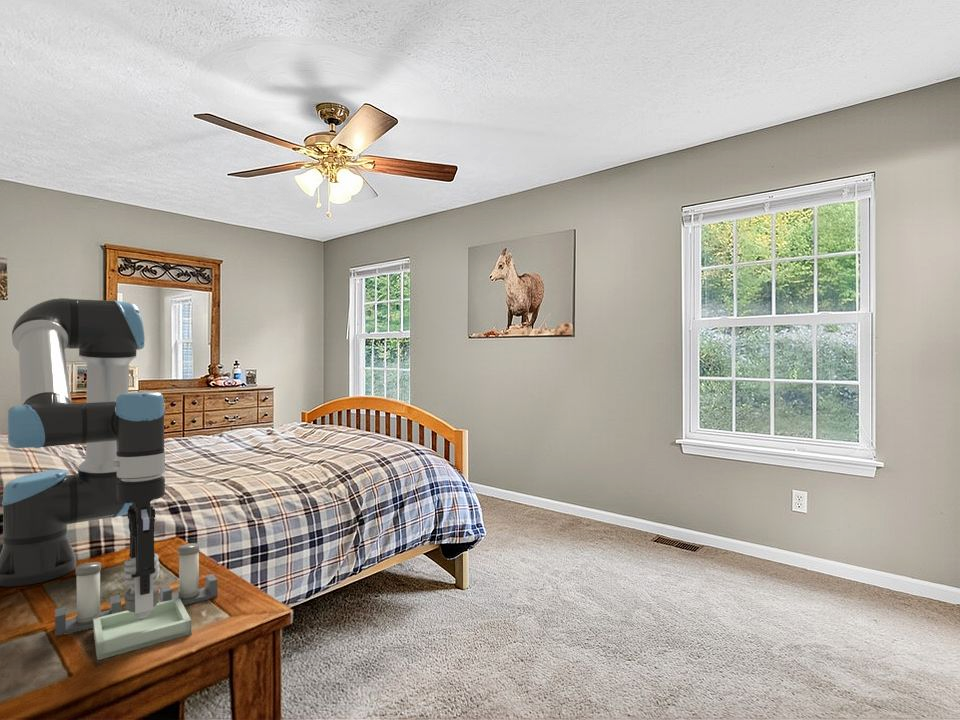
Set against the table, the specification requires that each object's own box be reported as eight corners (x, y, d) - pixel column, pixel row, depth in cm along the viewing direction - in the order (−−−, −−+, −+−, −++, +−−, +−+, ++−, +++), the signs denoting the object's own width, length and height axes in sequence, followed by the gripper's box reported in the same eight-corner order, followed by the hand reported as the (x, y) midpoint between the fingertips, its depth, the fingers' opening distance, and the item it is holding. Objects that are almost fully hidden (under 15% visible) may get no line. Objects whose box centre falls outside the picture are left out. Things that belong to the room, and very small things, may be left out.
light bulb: (143, 628, 97) (142, 560, 96) (116, 625, 98) (115, 558, 97) (167, 613, 102) (166, 549, 102) (141, 610, 103) (140, 546, 103)
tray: (93, 632, 100) (93, 618, 100) (179, 610, 109) (179, 597, 109) (97, 660, 91) (97, 645, 91) (191, 633, 99) (191, 620, 99)
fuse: (75, 618, 104) (75, 565, 104) (100, 612, 106) (100, 560, 106) (76, 626, 101) (75, 571, 101) (101, 620, 103) (101, 566, 103)
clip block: (55, 626, 102) (55, 608, 102) (212, 589, 119) (212, 573, 119) (55, 637, 98) (55, 617, 98) (218, 596, 115) (217, 580, 115)
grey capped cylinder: (176, 594, 114) (176, 545, 114) (197, 589, 117) (197, 542, 117) (180, 601, 111) (179, 550, 111) (201, 596, 113) (201, 546, 114)
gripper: (112, 472, 105) (112, 593, 105) (121, 489, 90) (122, 630, 90) (157, 467, 109) (158, 583, 109) (173, 482, 95) (174, 617, 95)
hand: (141, 604), depth 100 cm, fingers closed on light bulb, 6 cm apart
